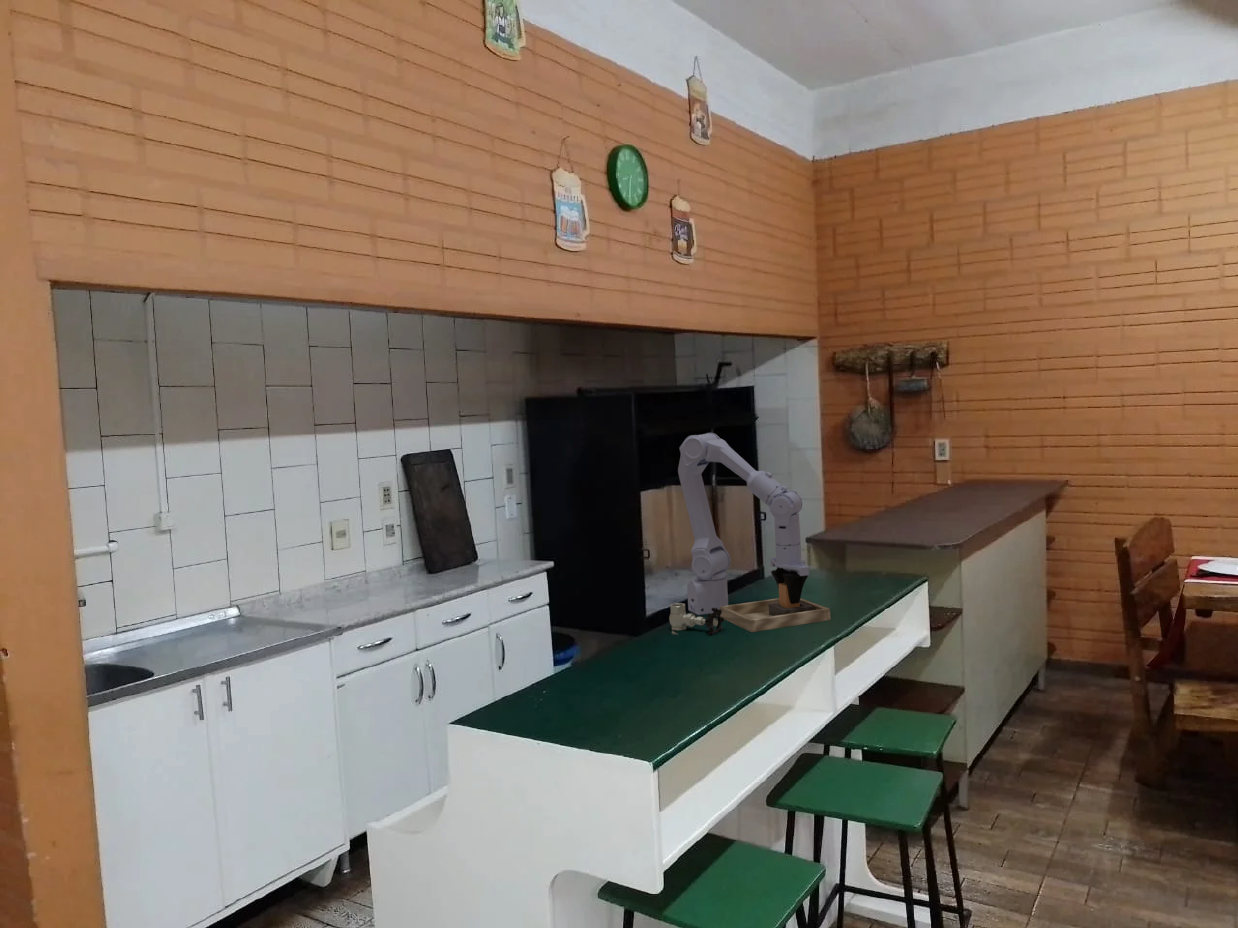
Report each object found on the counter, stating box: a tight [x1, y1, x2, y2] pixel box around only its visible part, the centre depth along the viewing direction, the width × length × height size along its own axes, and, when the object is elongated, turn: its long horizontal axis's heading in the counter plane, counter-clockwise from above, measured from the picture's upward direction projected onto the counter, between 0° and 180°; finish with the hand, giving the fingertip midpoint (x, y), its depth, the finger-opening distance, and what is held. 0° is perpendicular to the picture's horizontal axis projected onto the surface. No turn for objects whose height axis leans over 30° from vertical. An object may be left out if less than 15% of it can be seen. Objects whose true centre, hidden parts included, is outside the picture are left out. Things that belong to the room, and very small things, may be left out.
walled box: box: [720, 597, 831, 633], centre depth 215 cm, size 20×16×4 cm
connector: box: [778, 579, 800, 608], centre depth 216 cm, size 3×3×7 cm
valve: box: [668, 602, 725, 636], centre depth 209 cm, size 7×7×12 cm
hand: (790, 601), depth 216 cm, fingers closed on connector, 3 cm apart
